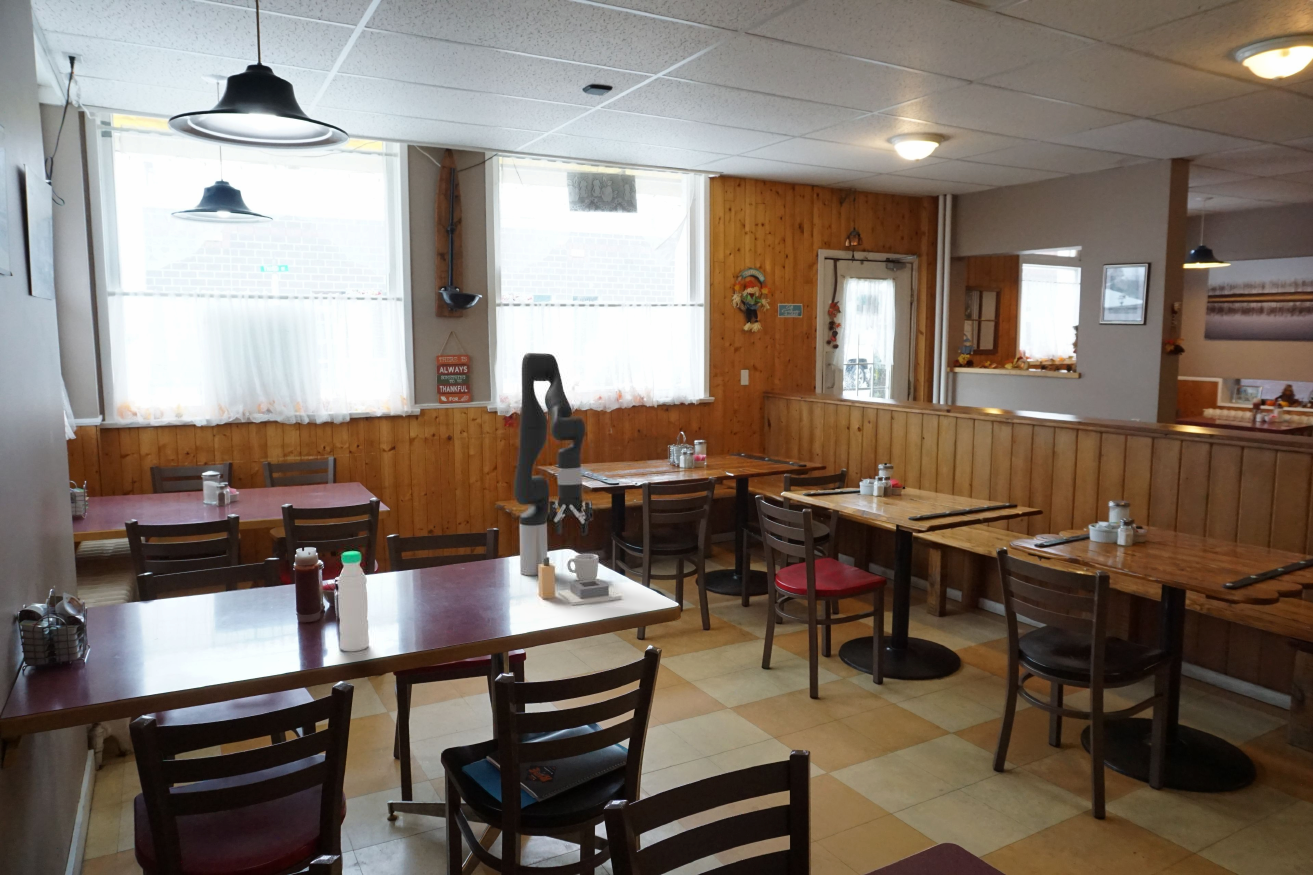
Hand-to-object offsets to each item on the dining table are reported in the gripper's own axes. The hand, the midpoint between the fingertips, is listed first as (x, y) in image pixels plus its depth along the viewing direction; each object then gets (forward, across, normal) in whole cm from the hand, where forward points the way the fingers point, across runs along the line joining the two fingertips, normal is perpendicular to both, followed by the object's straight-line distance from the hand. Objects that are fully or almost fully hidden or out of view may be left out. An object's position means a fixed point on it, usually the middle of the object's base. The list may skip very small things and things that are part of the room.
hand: (571, 534), depth 268 cm
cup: (+19, +7, -18) cm, 27 cm away
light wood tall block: (+19, +7, +4) cm, 21 cm away
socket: (+20, -5, -2) cm, 20 cm away
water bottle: (+20, +29, +63) cm, 72 cm away
